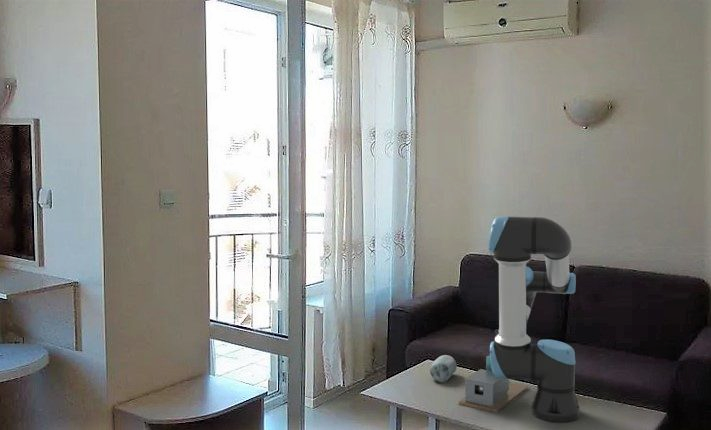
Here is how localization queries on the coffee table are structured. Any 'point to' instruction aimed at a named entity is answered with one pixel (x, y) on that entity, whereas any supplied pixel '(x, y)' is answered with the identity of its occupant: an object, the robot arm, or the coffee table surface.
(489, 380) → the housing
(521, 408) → the coffee table surface
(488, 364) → the block
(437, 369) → the spool
